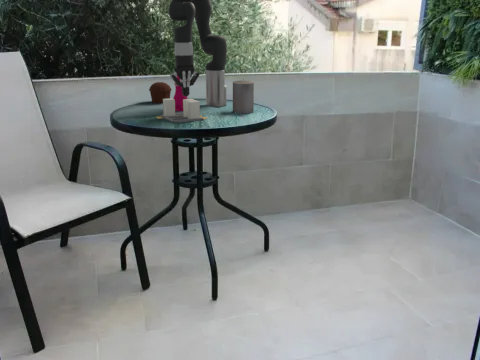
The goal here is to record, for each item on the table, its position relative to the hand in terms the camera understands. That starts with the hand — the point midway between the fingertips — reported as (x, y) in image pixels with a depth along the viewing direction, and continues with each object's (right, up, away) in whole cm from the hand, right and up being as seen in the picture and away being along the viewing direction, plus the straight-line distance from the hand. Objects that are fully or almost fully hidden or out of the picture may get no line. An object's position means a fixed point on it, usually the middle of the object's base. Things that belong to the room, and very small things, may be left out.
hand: (185, 96), depth 195 cm
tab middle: (+2, -9, -1) cm, 10 cm away
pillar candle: (+24, -4, +18) cm, 31 cm away
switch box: (-1, -11, -3) cm, 11 cm away
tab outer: (+4, -11, -5) cm, 13 cm away
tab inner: (-7, -9, -1) cm, 11 cm away
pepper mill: (-4, -5, +16) cm, 17 cm away
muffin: (-18, +4, +41) cm, 45 cm away
